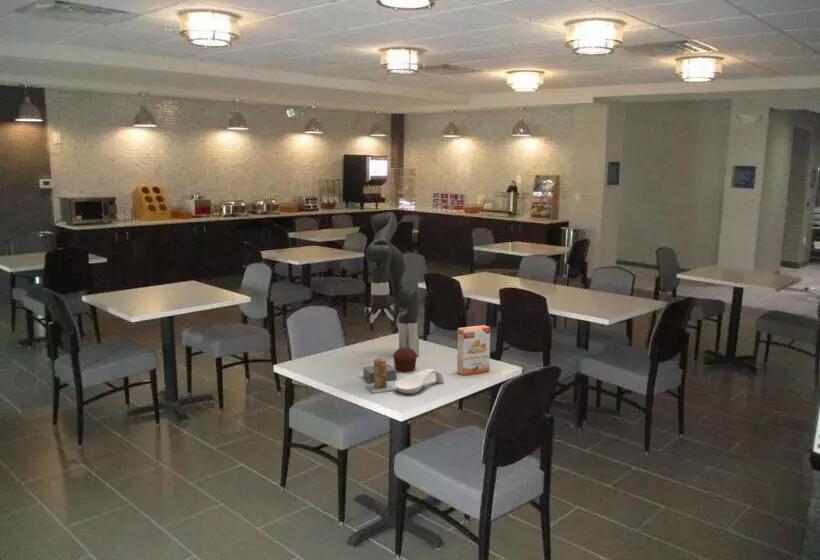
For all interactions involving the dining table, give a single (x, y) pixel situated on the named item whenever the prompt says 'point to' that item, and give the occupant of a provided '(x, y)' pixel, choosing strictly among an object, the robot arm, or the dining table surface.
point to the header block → (369, 373)
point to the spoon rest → (416, 381)
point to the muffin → (405, 359)
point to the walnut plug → (380, 373)
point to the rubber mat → (375, 390)
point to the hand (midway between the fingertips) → (381, 330)
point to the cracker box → (473, 350)
